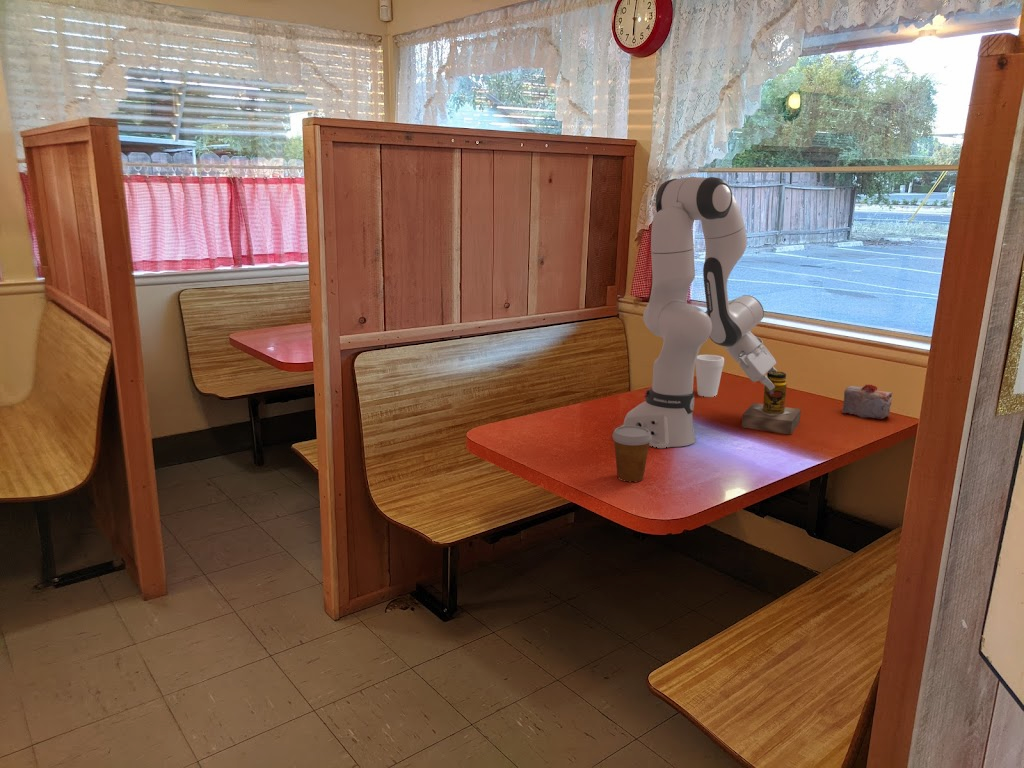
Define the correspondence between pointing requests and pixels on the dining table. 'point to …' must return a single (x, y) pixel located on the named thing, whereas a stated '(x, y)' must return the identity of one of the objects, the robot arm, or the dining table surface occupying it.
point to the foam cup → (708, 374)
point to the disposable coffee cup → (631, 451)
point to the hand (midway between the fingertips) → (776, 384)
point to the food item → (867, 402)
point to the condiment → (775, 395)
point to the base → (771, 420)
